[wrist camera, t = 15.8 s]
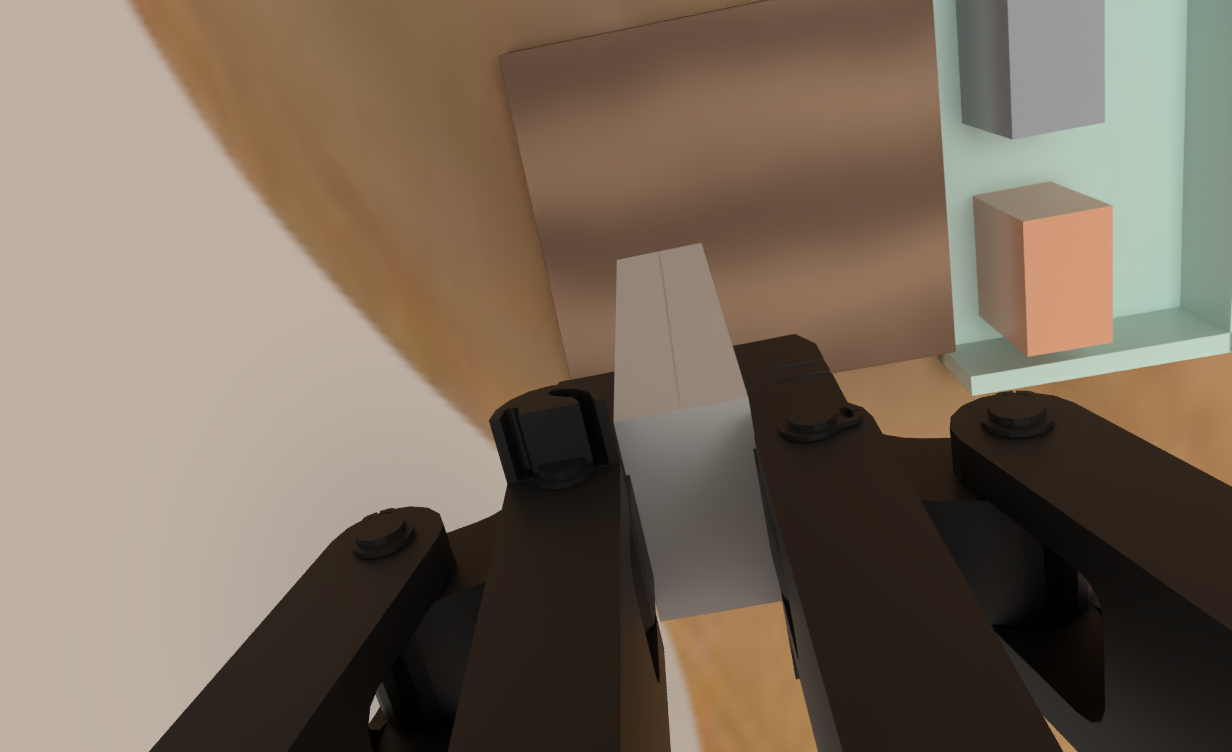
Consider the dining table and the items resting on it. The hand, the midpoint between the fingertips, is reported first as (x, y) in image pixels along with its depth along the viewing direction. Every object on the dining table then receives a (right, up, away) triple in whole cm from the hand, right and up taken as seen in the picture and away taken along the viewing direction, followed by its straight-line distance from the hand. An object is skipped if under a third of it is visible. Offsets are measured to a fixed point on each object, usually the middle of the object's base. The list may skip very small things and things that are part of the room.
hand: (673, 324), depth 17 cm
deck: (+4, +6, +21) cm, 22 cm away
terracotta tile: (+13, +3, +19) cm, 23 cm away
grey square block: (+12, +10, +16) cm, 22 cm away
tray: (+16, +8, +20) cm, 27 cm away
